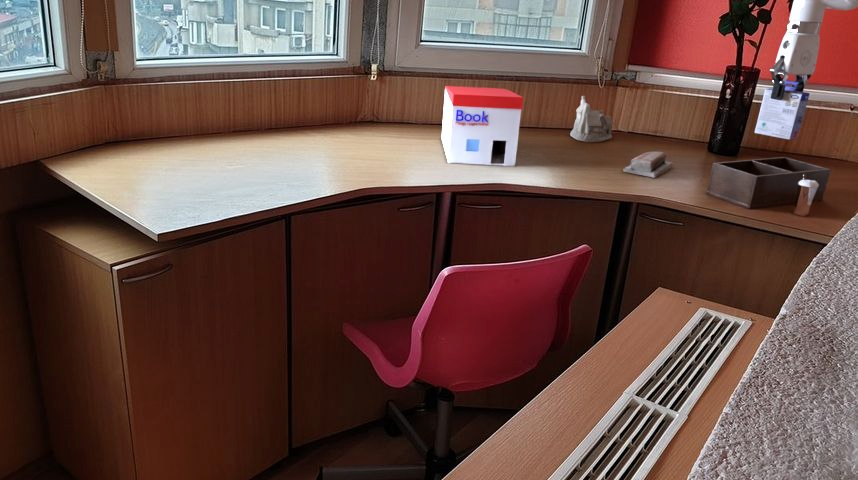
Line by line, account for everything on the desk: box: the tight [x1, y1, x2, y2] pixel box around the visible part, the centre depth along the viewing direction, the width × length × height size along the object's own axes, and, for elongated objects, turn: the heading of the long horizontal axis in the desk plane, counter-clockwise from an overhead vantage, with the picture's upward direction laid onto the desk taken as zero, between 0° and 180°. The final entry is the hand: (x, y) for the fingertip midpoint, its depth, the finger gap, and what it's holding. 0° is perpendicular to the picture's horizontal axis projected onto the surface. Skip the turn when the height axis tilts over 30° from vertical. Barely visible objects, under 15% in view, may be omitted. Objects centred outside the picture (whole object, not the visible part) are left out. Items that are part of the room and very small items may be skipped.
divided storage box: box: [706, 156, 832, 210], centre depth 198 cm, size 15×28×9 cm, turn 114°
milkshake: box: [792, 174, 819, 217], centre depth 184 cm, size 4×5×10 cm
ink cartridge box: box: [754, 80, 811, 140], centre depth 193 cm, size 10×6×14 cm, turn 41°
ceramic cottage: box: [569, 95, 613, 143], centre depth 263 cm, size 16×16×15 cm
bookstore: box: [441, 85, 524, 167], centre depth 232 cm, size 21×35×21 cm, turn 0°
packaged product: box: [622, 150, 673, 178], centre depth 222 cm, size 18×5×10 cm
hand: (785, 98), depth 192 cm, fingers closed on ink cartridge box, 6 cm apart
